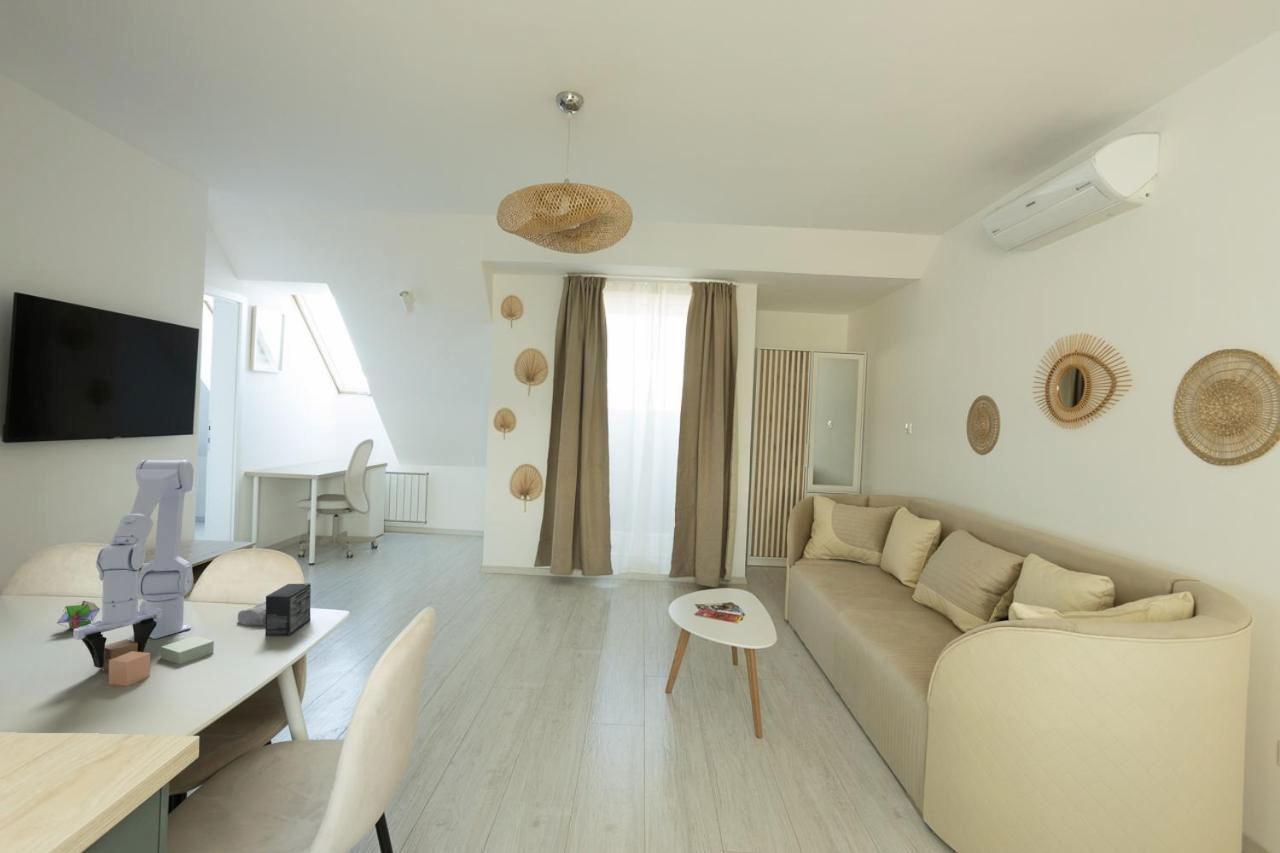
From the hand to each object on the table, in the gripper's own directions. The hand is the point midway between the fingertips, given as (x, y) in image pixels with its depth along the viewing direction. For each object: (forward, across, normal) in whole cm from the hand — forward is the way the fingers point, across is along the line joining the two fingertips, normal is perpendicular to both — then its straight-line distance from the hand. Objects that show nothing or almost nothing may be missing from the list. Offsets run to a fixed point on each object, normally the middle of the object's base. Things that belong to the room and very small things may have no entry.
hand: (119, 660), depth 121 cm
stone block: (+2, +33, +3) cm, 33 cm away
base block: (+2, +10, -6) cm, 12 cm away
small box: (+2, +31, -10) cm, 33 cm away
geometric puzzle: (+2, +6, +34) cm, 35 cm away
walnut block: (+2, 0, 0) cm, 2 cm away
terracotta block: (+2, -2, -9) cm, 9 cm away
